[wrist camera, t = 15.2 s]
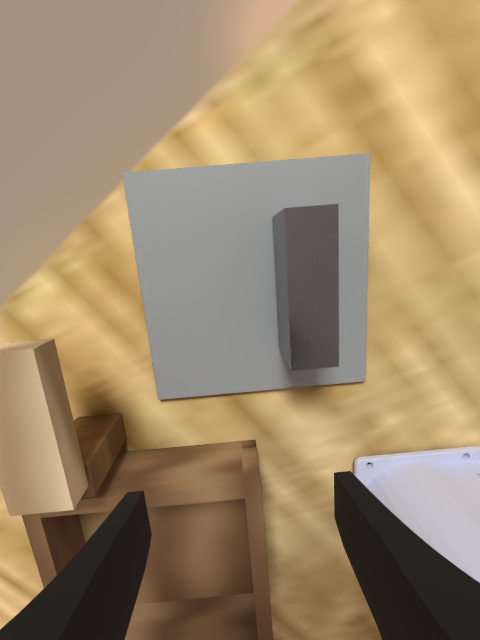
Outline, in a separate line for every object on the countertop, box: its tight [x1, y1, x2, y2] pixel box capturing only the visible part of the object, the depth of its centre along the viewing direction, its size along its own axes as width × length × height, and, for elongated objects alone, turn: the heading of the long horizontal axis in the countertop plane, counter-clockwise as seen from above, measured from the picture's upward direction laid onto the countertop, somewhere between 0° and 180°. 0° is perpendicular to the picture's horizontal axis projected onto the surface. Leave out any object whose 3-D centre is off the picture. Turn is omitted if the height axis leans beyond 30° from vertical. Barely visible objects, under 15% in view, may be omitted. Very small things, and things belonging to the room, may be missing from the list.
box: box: [22, 414, 273, 640], centre depth 20 cm, size 14×17×5 cm
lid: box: [122, 153, 370, 400], centre depth 17 cm, size 14×14×5 cm
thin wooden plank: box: [0, 339, 89, 516], centre depth 14 cm, size 3×8×2 cm, turn 5°
